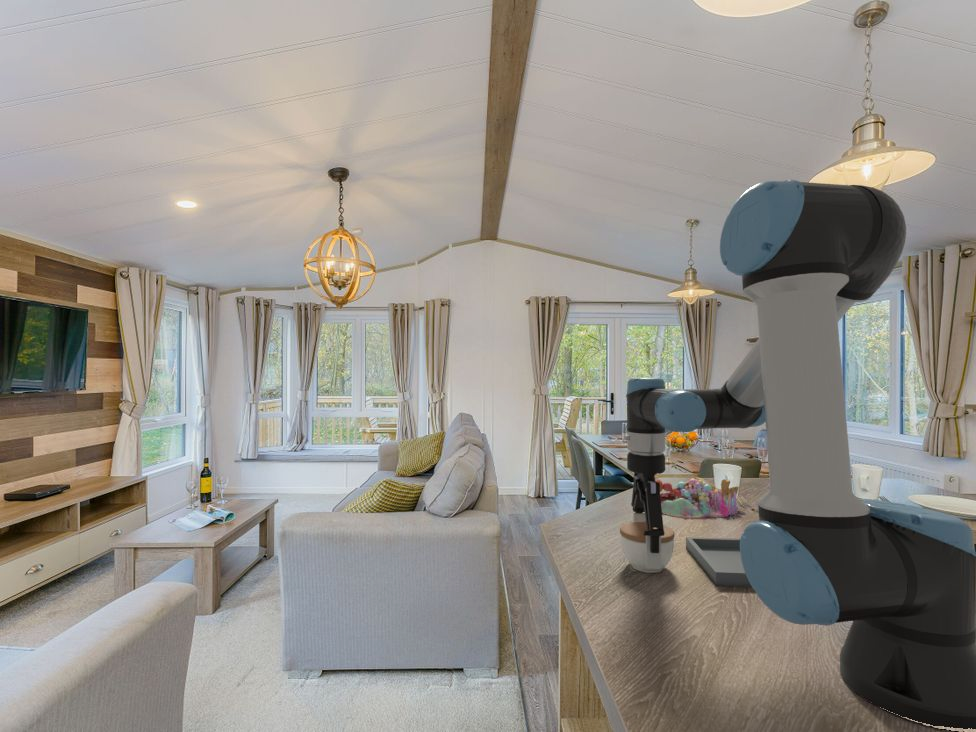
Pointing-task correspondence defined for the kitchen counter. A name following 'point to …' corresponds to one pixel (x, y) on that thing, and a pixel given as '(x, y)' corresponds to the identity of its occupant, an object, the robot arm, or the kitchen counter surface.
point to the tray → (719, 559)
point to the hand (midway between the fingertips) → (646, 554)
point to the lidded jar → (644, 545)
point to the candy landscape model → (698, 499)
